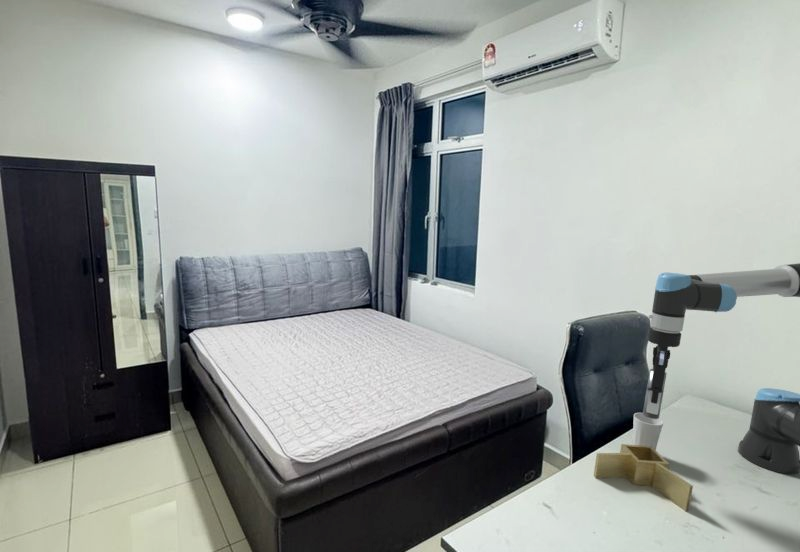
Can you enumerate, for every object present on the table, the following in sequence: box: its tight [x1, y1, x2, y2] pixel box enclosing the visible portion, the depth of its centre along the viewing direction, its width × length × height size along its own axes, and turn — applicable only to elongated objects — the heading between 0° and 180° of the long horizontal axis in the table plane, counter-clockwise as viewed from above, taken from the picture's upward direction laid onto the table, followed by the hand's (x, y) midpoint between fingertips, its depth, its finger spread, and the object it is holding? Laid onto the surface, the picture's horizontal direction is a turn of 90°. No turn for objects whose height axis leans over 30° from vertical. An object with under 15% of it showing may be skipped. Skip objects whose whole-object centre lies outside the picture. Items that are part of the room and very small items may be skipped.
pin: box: [642, 368, 667, 419], centre depth 117 cm, size 4×4×13 cm
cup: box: [631, 412, 664, 451], centre depth 132 cm, size 8×8×12 cm
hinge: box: [593, 443, 694, 512], centre depth 116 cm, size 19×18×7 cm
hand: (652, 409), depth 118 cm, fingers closed on pin, 4 cm apart
